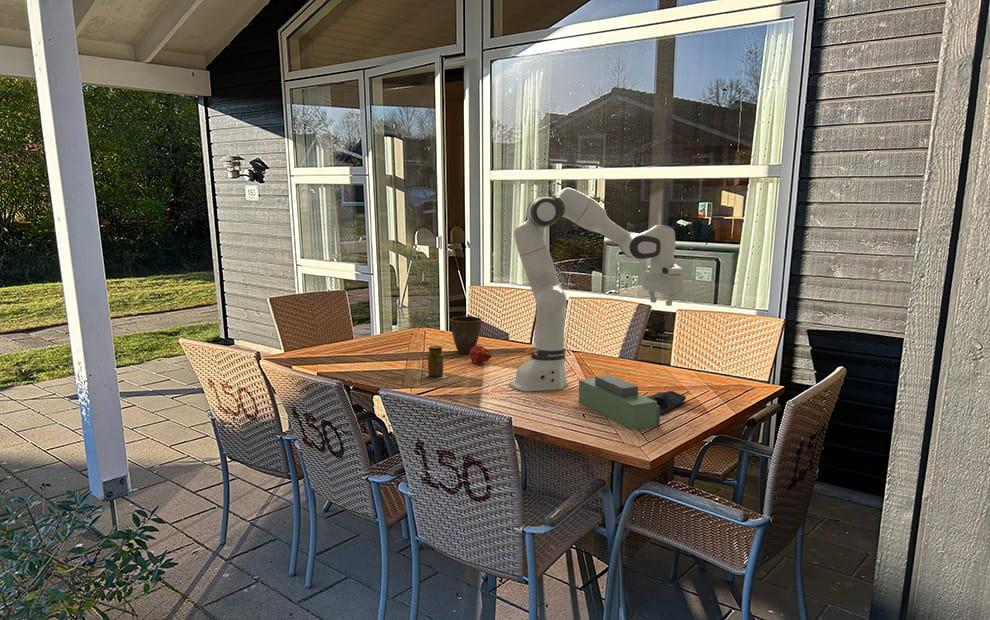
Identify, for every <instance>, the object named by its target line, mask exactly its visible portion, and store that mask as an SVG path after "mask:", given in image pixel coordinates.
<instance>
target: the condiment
mask: <svg viewBox="0 0 990 620" xmlns="http://www.w3.org/2000/svg"><path fill="white" fill-rule="evenodd" d="M427 369H428V370H427V371H428V373H425V374H424V375H425V376H426V377H427V378H428V379H430V380H440V379H441V380H442V379H447V378H448V377H447V376H446V375H445V374H444V354H443V347H442V346H441V345H440V346H439V345H433V346H429V348H428V354H427Z"/></svg>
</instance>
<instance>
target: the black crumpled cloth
mask: <svg viewBox="0 0 990 620" xmlns="http://www.w3.org/2000/svg"><path fill="white" fill-rule="evenodd" d="M646 397H648V398H650V399H652V400H655V401H657V405H659V406H660V416H664V415H665V414H667V413H669V412H670V411H672V410H674V409H675V408H677V407H678V406H679V405H681V404H682V403H683V402H684V401H685V400H686V398H687V397H686V395H684V394H681V393H678V392H675V391H674V390H670V391H662V392H656V393H655V394H653V395H648V396H646Z"/></svg>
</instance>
